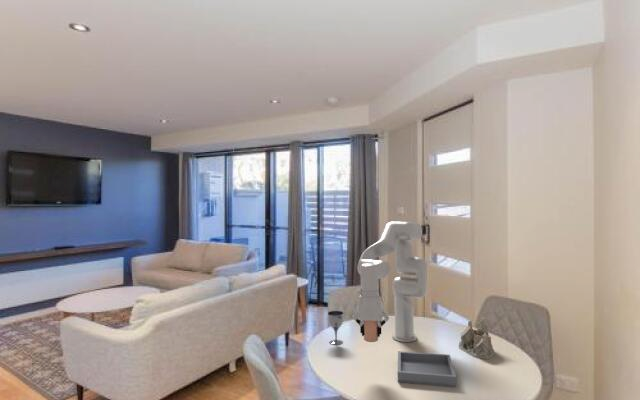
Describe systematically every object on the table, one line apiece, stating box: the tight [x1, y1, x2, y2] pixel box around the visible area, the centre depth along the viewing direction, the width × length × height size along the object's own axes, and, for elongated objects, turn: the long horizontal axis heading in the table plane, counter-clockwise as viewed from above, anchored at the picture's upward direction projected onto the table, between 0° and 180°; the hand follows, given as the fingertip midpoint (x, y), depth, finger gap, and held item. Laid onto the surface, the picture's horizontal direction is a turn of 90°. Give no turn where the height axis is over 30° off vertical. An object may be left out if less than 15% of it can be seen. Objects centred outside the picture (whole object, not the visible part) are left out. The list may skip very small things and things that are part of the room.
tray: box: [397, 350, 457, 388], centre depth 151 cm, size 20×22×4 cm
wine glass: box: [327, 310, 344, 346], centre depth 185 cm, size 8×8×15 cm
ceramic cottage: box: [458, 317, 495, 360], centre depth 171 cm, size 16×16×15 cm
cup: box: [363, 320, 379, 343], centre depth 153 cm, size 6×6×9 cm
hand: (371, 334), depth 154 cm, fingers closed on cup, 6 cm apart
